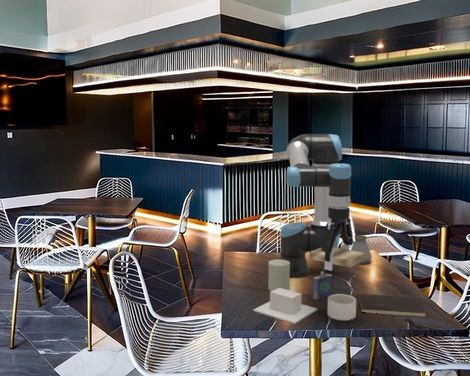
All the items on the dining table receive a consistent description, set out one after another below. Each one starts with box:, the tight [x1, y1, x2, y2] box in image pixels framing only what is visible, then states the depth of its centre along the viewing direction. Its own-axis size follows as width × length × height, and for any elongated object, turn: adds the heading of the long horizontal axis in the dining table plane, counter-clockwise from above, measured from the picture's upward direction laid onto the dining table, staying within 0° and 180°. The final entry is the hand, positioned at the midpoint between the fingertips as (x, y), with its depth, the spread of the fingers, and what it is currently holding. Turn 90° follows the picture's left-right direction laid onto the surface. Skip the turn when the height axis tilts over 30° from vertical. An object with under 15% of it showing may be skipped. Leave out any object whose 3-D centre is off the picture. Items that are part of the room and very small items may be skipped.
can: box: [267, 259, 291, 292], centre depth 200 cm, size 9×9×12 cm
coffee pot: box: [339, 235, 373, 265], centre depth 239 cm, size 21×12×15 cm, turn 88°
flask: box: [312, 270, 333, 301], centre depth 190 cm, size 9×3×11 cm, turn 121°
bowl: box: [327, 293, 357, 321], centre depth 173 cm, size 10×10×6 cm
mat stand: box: [253, 288, 318, 325], centre depth 177 cm, size 18×16×7 cm
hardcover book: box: [357, 293, 427, 318], centre depth 181 cm, size 16×23×2 cm
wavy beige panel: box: [308, 247, 365, 268], centre depth 171 cm, size 16×12×2 cm
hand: (337, 265), depth 171 cm, fingers closed on wavy beige panel, 12 cm apart
